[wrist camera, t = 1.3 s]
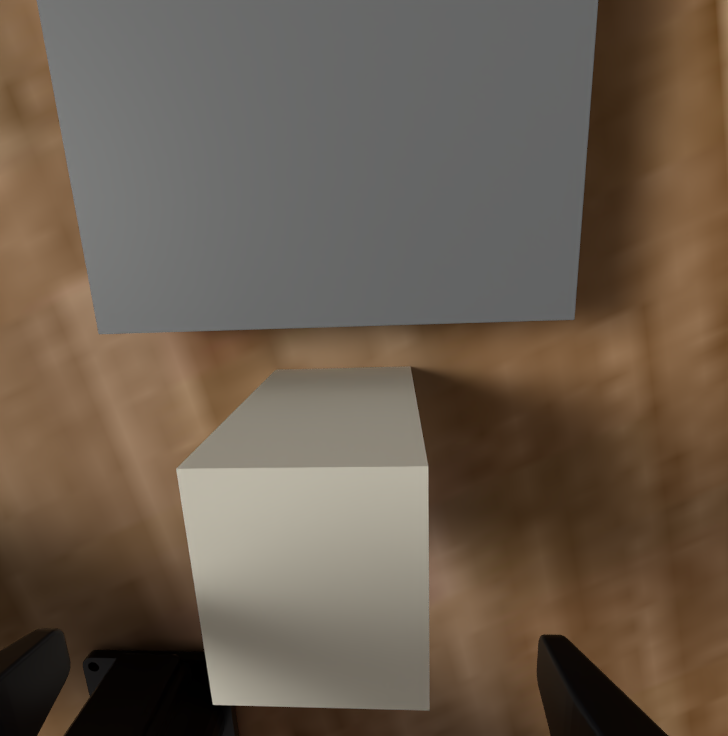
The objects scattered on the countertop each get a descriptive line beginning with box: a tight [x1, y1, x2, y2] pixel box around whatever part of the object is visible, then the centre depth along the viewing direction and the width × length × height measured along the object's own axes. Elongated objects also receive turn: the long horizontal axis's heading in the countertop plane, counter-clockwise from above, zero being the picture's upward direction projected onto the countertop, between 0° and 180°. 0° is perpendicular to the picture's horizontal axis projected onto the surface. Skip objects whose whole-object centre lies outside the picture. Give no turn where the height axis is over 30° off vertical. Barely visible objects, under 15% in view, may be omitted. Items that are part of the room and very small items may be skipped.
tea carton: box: [176, 366, 430, 711], centre depth 13 cm, size 6×5×8 cm
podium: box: [37, 0, 598, 334], centre depth 13 cm, size 12×14×3 cm
